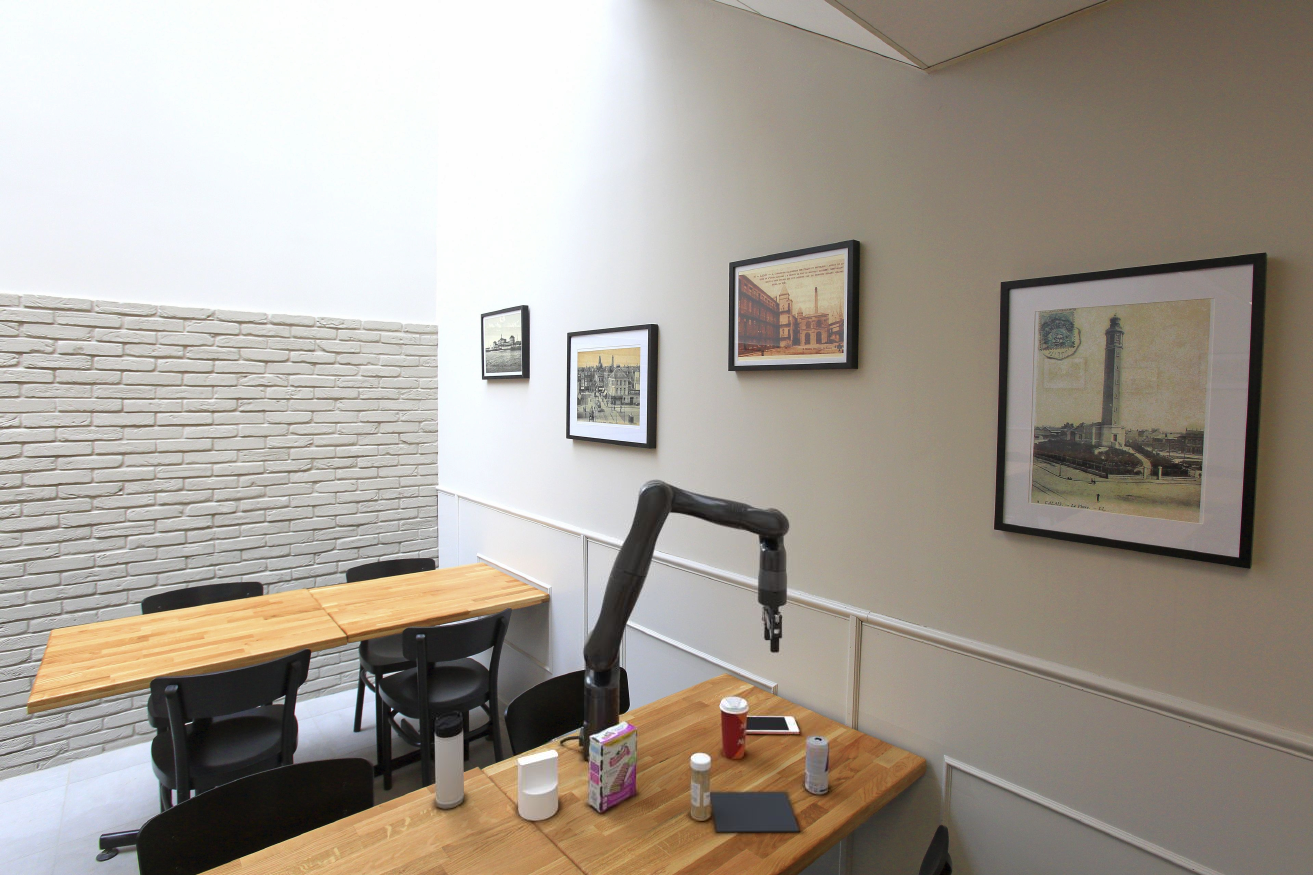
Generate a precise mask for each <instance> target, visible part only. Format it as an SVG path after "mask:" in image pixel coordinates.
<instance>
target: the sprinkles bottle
mask: <svg viewBox="0 0 1313 875" xmlns="http://www.w3.org/2000/svg"><path fill="white" fill-rule="evenodd" d="M711 766H712V758H711V756H710V755H708V754H707V753H703V752H697V753H694V754H692V755H691V757H690V768H691V769H690V770H691V771H690V773H691V774H690V806H691V808H690V809H691V810H690V816H691V818H692V819H694V820H695V821H699V822H702V821H707V820H709V819H710V817H711V796H710V793H711Z"/></svg>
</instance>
